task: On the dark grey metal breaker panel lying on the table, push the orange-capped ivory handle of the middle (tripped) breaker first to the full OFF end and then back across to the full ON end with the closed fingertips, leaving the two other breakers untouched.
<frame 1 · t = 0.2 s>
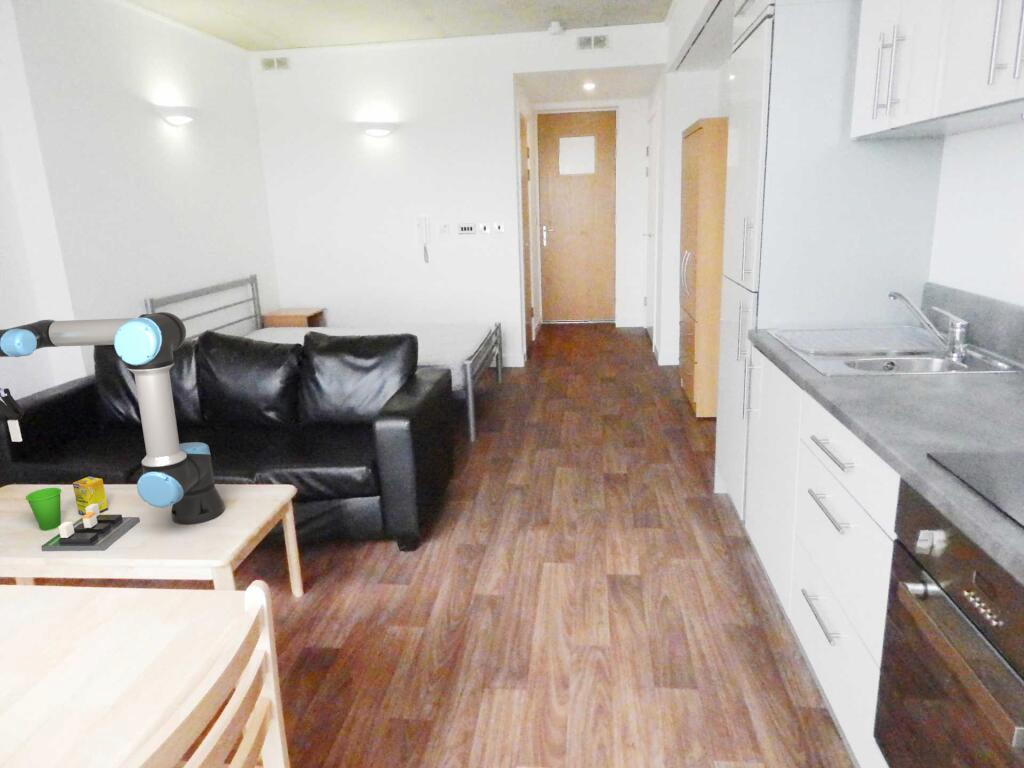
handle a: (92, 511, 204), point 5 cm above the table, slide at 3.0 cm
supplement box: (93, 512, 216), on the table
panel: (93, 535, 200), on the table
handle c: (66, 529, 193), point 5 cm above the table, slide at 3.0 cm
cup: (50, 527, 206), on the table
tripped handle: (89, 519, 198), point 5 cm above the table, slide at 0.0 cm
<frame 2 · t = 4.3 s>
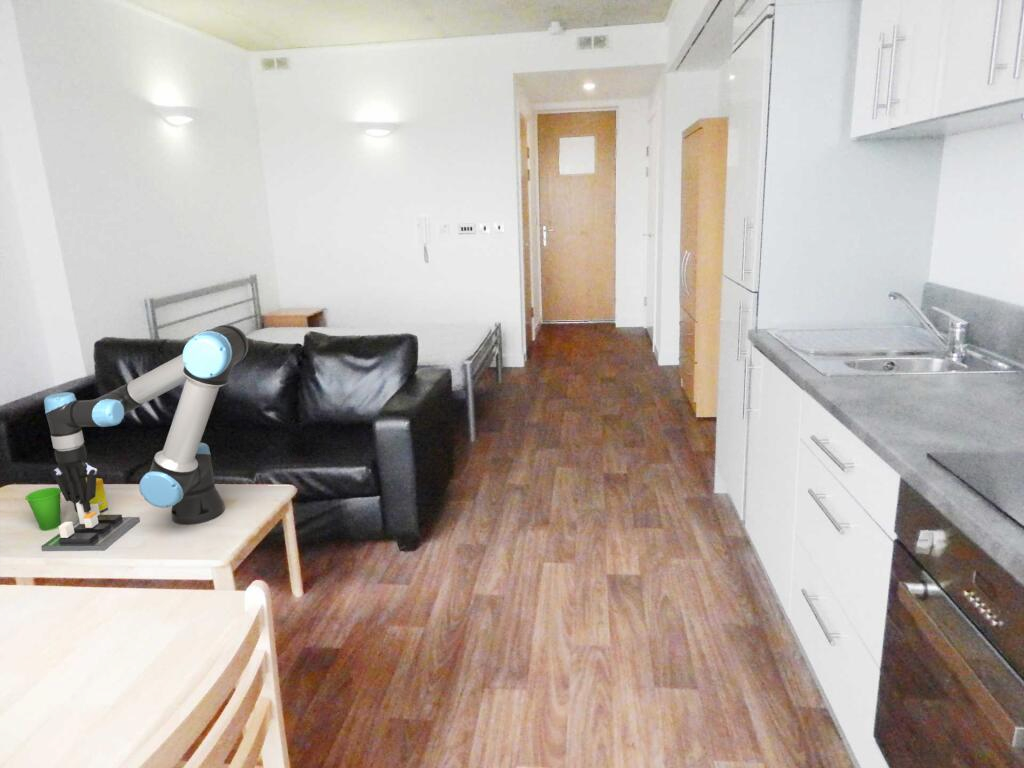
hand: (85, 521, 199), 4 cm above the table, fingers closed
tripped handle: (90, 519, 198), point 5 cm above the table, slide at -0.3 cm, touching gripper
everything else where it was.
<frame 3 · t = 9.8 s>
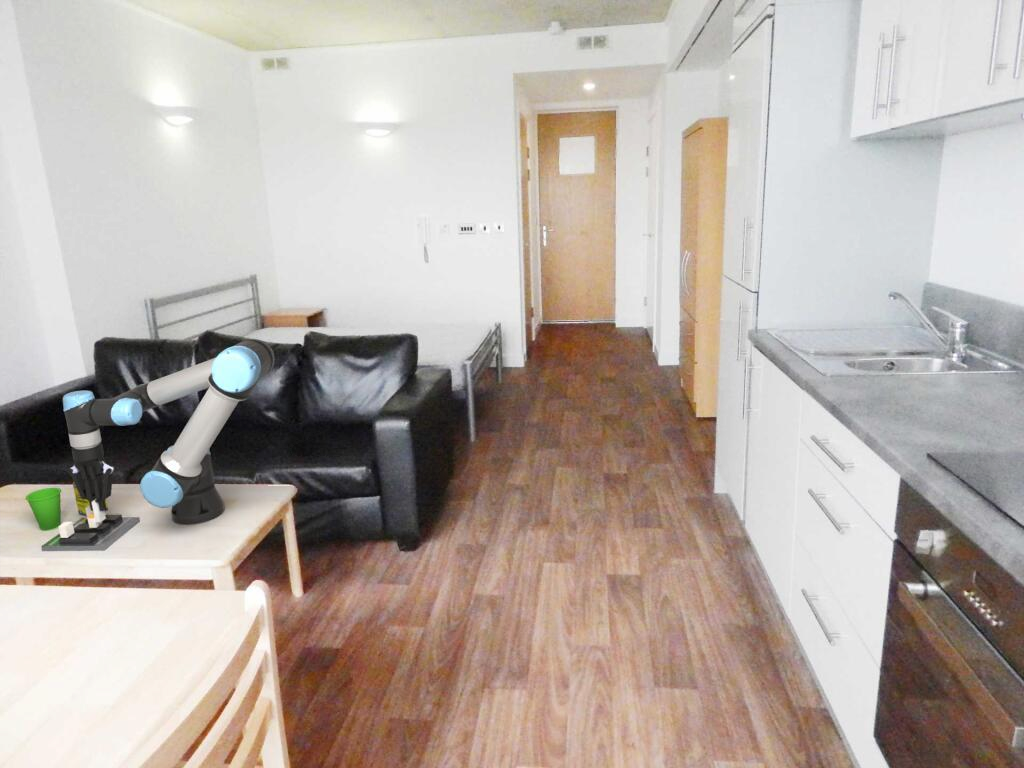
hand: (100, 520, 198), 5 cm above the table, fingers closed
tripped handle: (94, 519, 198), point 5 cm above the table, slide at -1.5 cm, touching gripper
everything else where it was.
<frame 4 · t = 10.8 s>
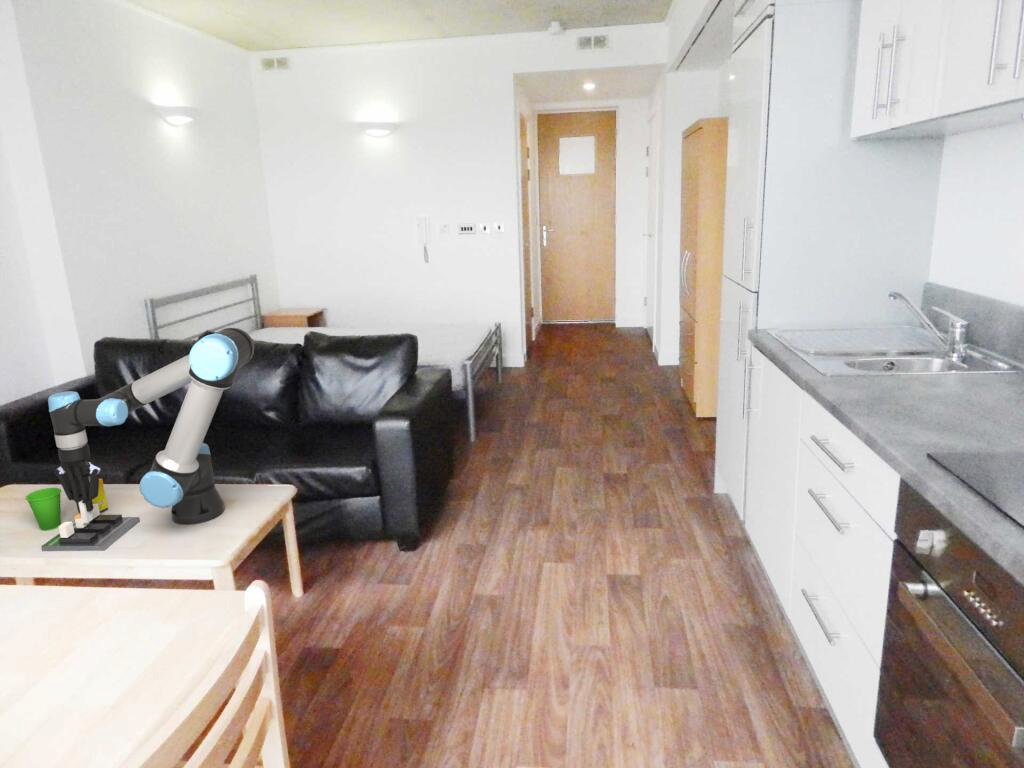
hand: (88, 520, 199), 5 cm above the table, fingers closed
tripped handle: (82, 520, 199), point 5 cm above the table, slide at 2.4 cm, touching gripper
everything else where it was.
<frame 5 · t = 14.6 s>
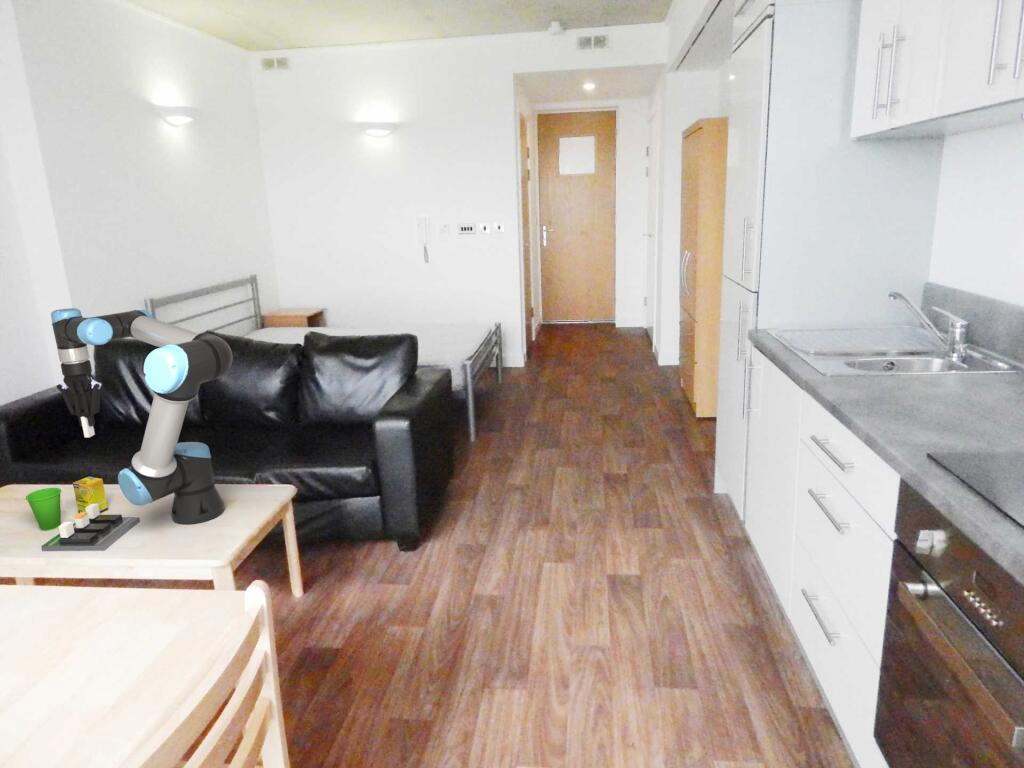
hand: (89, 435, 207), 26 cm above the table, fingers closed
tripped handle: (81, 520, 199), point 5 cm above the table, slide at 2.4 cm
everything else where it was.
at the end: tripped handle slide at 2.4 cm; handle a slide at 3.0 cm; handle c slide at 3.0 cm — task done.
